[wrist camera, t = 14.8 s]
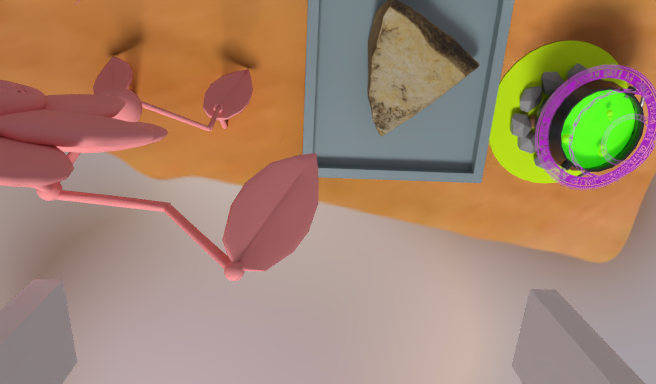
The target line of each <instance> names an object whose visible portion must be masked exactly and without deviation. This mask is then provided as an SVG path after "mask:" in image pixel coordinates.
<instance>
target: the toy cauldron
mask: <svg viewBox="0 0 656 384" xmlns="http://www.w3.org/2000/svg"><path fill="white" fill-rule="evenodd" d="M623 67H625V66H622V67H621V66H620V65H619V64H618V63H617V62H616V60H615V59H614V58H613V57H612V56H611V55H610V54H609V53H607V52H606V51H604V50H603V49H601V48H600V47H598V46H595V45H592V44H589V43H587V42H581V41H572V40H570V41H560V42H554V43H551V44H548V45H544V46H541V47H540V48H538V49H536V50H534V51H532V52H530V53H528V54H527V55H525V56H524V57H523V58H522V59H520V60H519V61H518V62H516V63H515V64H514V65H513V66H512V68H511V69H510V70H509V71H508V72H507V73H506V74H505V75H504V77H503V78H502V80H501V81H500V83H499V88H498V93H497V99H496V104H495V110H494V116H493V121H492V127H491V132H490V138H489V144H490V146H491V149H492V151H493V154H494V155H495V157H496V158H497V160H498V161H499V163H500V164H501V165H502V166H503V167H504V168H505V169H506V170H508V171H509V172H510V173H512V174H513V175H515V176H517V177H519V178H521V179H524V180H527V181H531V182H536V183H553V182H556V183H557V182H559V183H561V184H563V183H565V184H566V186H568V185H570V187H572V186H573V187H574V186H575V187H574V188H578V187H580V188H581V187H582V188H583V187H584V188H585V187H586V188H587V187H588V188H589V187H592V188H596V187H597V186H598V187H600V186H601V185H602V186H604V185H607V183H608V184H610V183H612V182H614V181H616V180H615V179H617V178H619V177H621V176H622V177H623V175H624V176H625V175H626V174H628V173H629V172H631V171H633V170H634V168H635V167H636V166H637V165H638V164H639V163H640V162H641V161H643V160H644V159H645V160H646V158H647V157H648V156H649V155H650V154H649V151H650V149H652V150H653V148H654V147H653V146H655V145H656V143H655V145H654V142H653V140H654V138H655V139H656V132H655V135H654V131H655V128H656V122H655V121H656V118H655V116H656V109H654V108H656V102H655V99H654V96H653V94H652V92H651V90H650V89H649V87H648V86H647V84H646V83H645V82H644V81H643V80H642V82H641V79H640V78H639V77H637V76H636V75H634V74H632V73H630V72H629V74H627V73H628V72H627V71H624V70H622V69H625V70H628V71H631V72H633V73H635V74H637V73H636V72H638V71H636V70H634V69H632V68H629V67H626V68H629V69H626V68H623ZM630 69H632V70H634V71H635V72H634V71H632V70H630ZM638 73H640V72H638ZM627 75H629V79H631V77H632V76H633V75H634V77H632V78H633V80H632V81H631V80H630V81H631V82H630V81H629V79H628V80H627V78H628V76H627ZM637 75H638V76H640V75H642V74H641V73H640V75H639V74H637ZM642 76H644V75H642ZM642 76H640V77H641V78H643V79H644V80H645V78H646V77H645V76H644V77H645V78H644V77H642ZM625 77H627V78H625ZM646 79H647V78H646ZM647 80H648V79H647ZM645 81H646V80H645ZM648 81H649V80H648ZM648 81H646V82H647V83H648ZM627 82H628V83H630V84H632V85H633V87H631V86H629V87H628V85H627ZM637 82H639V83H637ZM649 82H650V81H649ZM636 83H637V84H636ZM643 83H645V84H643ZM635 84H636V85H635ZM650 84H651V82H650ZM650 84H649V83H648V85H649V86H650ZM651 85H652V84H651ZM652 86H653V85H652ZM650 87H651V86H650ZM647 88H648V89H647ZM653 88H654V87H653ZM636 89H638V90H639V91H638V90H636ZM641 89H642V90H641ZM651 89H652V87H651ZM649 90H650V91H649ZM654 90H655V88H654ZM647 91H648V92H649V93H648V92H647ZM652 91H653V89H652ZM639 92H640V93H639ZM655 92H656V90H655ZM653 93H654V91H653ZM635 94H638V95H641V96H642V97H641V101H640V103H639V101H638V100H637V98H636V97H635V96H634V95H635ZM650 94H652V96H651V95H650ZM647 95H650V96H647ZM654 95H655V98H656V94H655V93H654ZM645 101H646V104H647V108H648V115H647V116H648V118H649V119H648V126H647V125H646V124H645V123H644V122H645V121H646V120H644V119H645V118H646V117H645V116H644V114H643V108H642V107H643V104H644V102H645ZM652 102H653V103H654V102H655V103H654V104H653V103H652ZM650 103H651V104H650ZM648 104H649V105H650V106H649V105H648ZM653 106H654V107H653ZM650 107H652V108H653V109H654V110H653V109H651V108H650ZM650 109H651V110H652V111H650ZM653 111H655V112H653ZM651 112H653V113H655V114H651ZM644 117H645V118H644ZM652 117H653V118H655V119H653V118H652ZM646 119H647V118H646ZM654 120H655V121H654ZM650 121H651V122H653V124H650V123H651V122H650ZM654 122H655V123H654ZM644 124H645V125H646V126H647V131H646V134H645V137H646V138H648V139H647V140H645V137H644V139H643V141H642V143H641V145H640V146H639V148H638V149H637V151H639V150H640V152H639V153H638V152H637V151H636V152H635V153H633V154H634V155H633V156H632V157H631V158H630V159H629V160H626V161H627V162H625V163H624V162H623V163H622V164H623V165H622V166H624V165H629V166H627V167H629V168H630V167H632V166H633V165H634V164H635V163H636V162H637V161H638V160H639V159H640V157H641V156H642V155H643V154H644V152H645V150H646V149H647V148H648V146H649V144H650V142H651V139H652V137H653V135H654V137H653V139H652V142H653V144H652V142H651V144H652V146H651V144H650V146H651V148H650V146H649V148H650V149H649V148H648V149H647V151H646V152H647V153H648V154H649V155H648V154H646V152H645V154H646V155H647V157H646V158H644V155H645V154H644V155H643V156H642V158H641V159H642V160H641V159H640V160H639V161H638V162H637V163H636V164H635V165H634V166H633V167H634V168H633V167H632V168H630V169H629V168H626V166H624V167H625V168H626V169H625V168H624V167H623V168H624V169H623V168H622V169H621V167H622V166H620V167H619V168H617V169H615V170H614V171H612V172H609V173H607V174H604V175H601V176H598V175H595V176H594V174H591V173H589V172H600V171H603V170H606V169H609V168H612V167H614V166H616V165H617V164H619V163H620V162H622V161H623V160H625V159H626V158H627V157H628V156H629V155H630V153H631V152H632V151H633V150H634V149H635V148H636V146H637V144H638V142H639V140H640V138H641V136H642V133H643V127H644ZM652 129H653V130H654V131H653V130H652ZM649 130H650V131H649ZM648 133H649V134H648ZM652 134H653V135H652ZM647 135H649V136H647ZM654 141H655V140H654ZM642 145H644V146H645V147H646V149H645V147H643V146H642ZM641 147H642V148H643V150H642V148H641ZM652 147H653V148H652ZM640 148H641V149H640ZM644 149H645V150H644ZM641 150H642V151H644V152H643V153H641ZM648 150H649V151H648ZM651 152H652V151H651ZM651 152H650V153H651ZM637 154H638V155H639V156H638V155H637ZM635 155H637V157H636V156H635ZM646 155H645V156H646ZM633 157H634V158H635V159H636V161H634V160H635V159H634V158H633ZM631 160H632V161H633V162H634V164H631V163H633V162H632V161H631ZM645 160H644V161H645ZM628 161H629V162H628ZM644 161H643V162H644ZM630 162H631V163H630ZM643 162H642V163H643ZM642 163H641V164H642ZM641 164H640V165H641ZM637 167H638V166H637ZM637 167H636V168H637ZM636 168H635V169H636ZM619 169H620V171H617V170H619ZM628 169H629V170H630V171H629V170H628ZM631 169H632V170H631ZM622 170H623V171H624V170H625V171H624V172H623V171H622ZM616 171H617V173H616ZM614 172H615V173H614ZM618 172H619V173H618ZM588 173H589V174H588ZM610 173H611V174H612V173H613V176H610V175H611V174H610ZM623 173H624V174H623ZM579 174H580V175H579ZM586 174H588V175H592V176H593V177H590V176H589V177H582V176H584V175H586ZM614 174H615V176H616V177H615V176H614ZM577 175H578V176H577ZM588 175H587V176H588ZM607 175H608V176H607ZM617 175H618V176H617ZM620 175H621V176H620ZM596 176H597V177H596ZM602 177H603V178H602ZM608 177H609V179H608ZM622 177H621V178H622ZM578 178H579V180H577V179H578ZM594 178H595V179H596V178H598V180H597V179H596V180H594ZM613 178H615V179H613ZM582 179H583V180H582ZM584 179H586V180H588V182H589V183H588V182H585V181H584ZM601 179H602V181H604V182H606V181H609V180H611V179H613V180H614V181H613V180H611V181H612V182H611V181H609V182H610V183H609V182H606V183H603V182H602V181H601ZM606 179H607V180H606ZM619 179H620V178H619ZM581 180H582V181H581ZM589 180H590V181H591V182H590V181H589ZM592 180H593V182H592ZM617 180H618V179H617ZM560 181H561V182H560ZM572 181H573V182H572ZM574 181H578V183H577V182H574ZM580 181H581V183H582V184H581V183H580ZM562 182H563V183H562ZM566 182H569V183H572V184H576V183H577V185H580V184H581V185H585V183H586V184H587V185H589V184H590V185H594V184H595V182H596V184H599V183H603V184H604V185H603V184H599V185H600V186H599V185H594V186H577V185H572V184H568V183H566ZM565 184H564V185H565ZM567 184H568V185H567ZM610 185H611V184H610ZM562 186H563V185H562ZM595 186H596V187H595ZM605 187H606V186H605ZM567 188H568V187H567ZM601 188H602V187H601ZM570 189H572V188H570ZM597 189H598V188H597ZM577 190H579V189H577ZM590 190H592V189H590Z"/></svg>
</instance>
